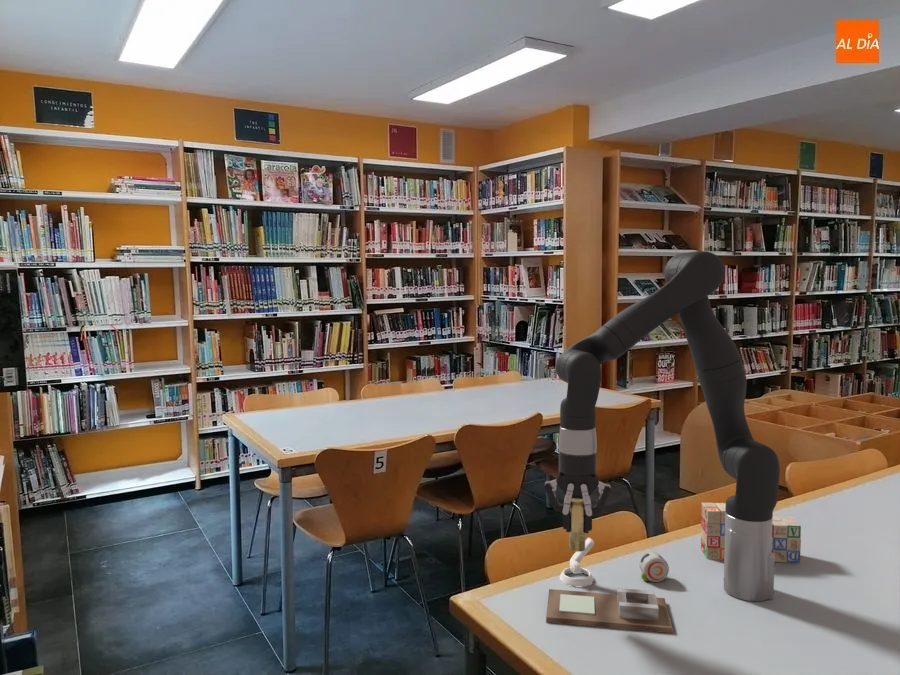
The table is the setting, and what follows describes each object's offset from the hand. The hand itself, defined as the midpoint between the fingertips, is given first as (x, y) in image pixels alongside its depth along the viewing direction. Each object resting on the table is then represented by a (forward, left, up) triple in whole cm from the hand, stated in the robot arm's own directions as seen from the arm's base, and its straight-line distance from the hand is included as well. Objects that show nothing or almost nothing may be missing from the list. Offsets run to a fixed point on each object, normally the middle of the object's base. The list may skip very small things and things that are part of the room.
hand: (577, 531), depth 133 cm
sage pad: (0, 0, -16) cm, 16 cm away
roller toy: (-17, -17, -17) cm, 29 cm away
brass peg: (0, 0, -4) cm, 4 cm away
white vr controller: (0, -14, -17) cm, 22 cm away
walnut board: (-6, 0, -17) cm, 18 cm away
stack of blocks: (-41, -34, -17) cm, 56 cm away
